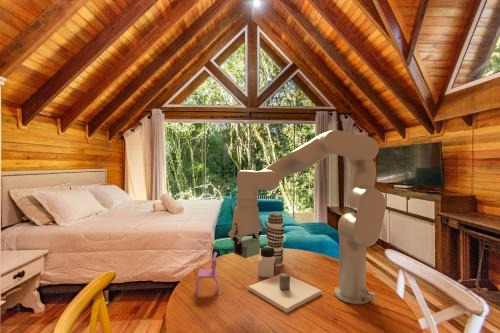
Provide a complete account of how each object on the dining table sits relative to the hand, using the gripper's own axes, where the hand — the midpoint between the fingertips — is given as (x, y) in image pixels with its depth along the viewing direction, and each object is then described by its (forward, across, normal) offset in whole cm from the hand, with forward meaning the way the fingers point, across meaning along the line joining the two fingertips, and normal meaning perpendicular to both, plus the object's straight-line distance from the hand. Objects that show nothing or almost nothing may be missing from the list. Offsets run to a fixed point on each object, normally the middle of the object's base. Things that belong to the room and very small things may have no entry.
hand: (246, 251), depth 97 cm
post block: (+18, -15, +6) cm, 24 cm away
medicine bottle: (+18, -21, -10) cm, 29 cm away
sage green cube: (+1, 0, 0) cm, 1 cm away
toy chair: (+18, +8, -13) cm, 24 cm away
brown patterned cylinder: (+18, -33, -17) cm, 41 cm away
